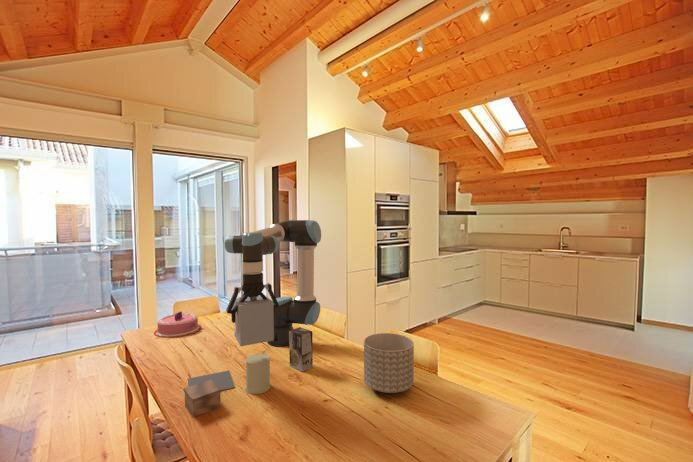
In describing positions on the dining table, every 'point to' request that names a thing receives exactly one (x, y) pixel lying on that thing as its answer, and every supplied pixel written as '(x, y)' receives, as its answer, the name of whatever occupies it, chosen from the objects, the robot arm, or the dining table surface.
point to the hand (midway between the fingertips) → (253, 328)
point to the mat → (214, 380)
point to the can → (257, 373)
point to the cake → (177, 325)
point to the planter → (388, 362)
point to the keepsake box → (202, 397)
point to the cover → (255, 321)
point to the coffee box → (300, 349)
